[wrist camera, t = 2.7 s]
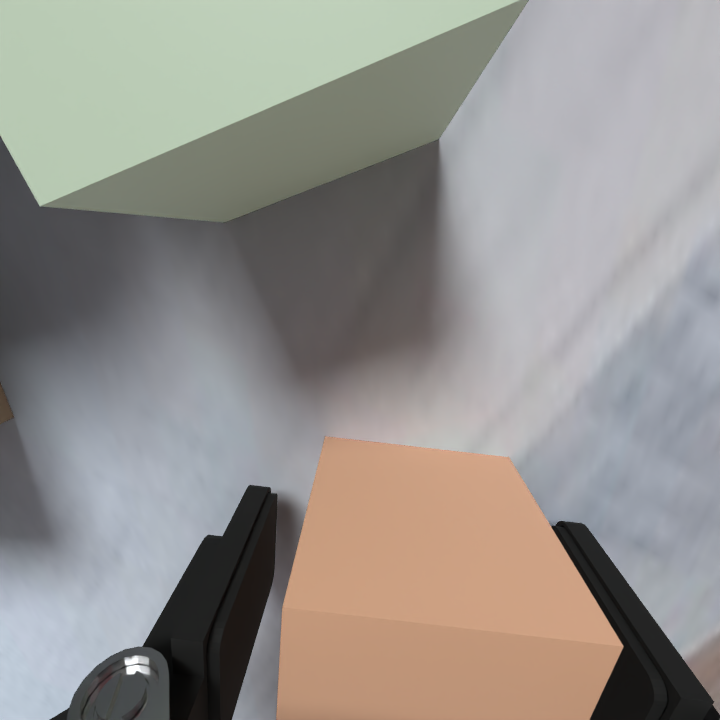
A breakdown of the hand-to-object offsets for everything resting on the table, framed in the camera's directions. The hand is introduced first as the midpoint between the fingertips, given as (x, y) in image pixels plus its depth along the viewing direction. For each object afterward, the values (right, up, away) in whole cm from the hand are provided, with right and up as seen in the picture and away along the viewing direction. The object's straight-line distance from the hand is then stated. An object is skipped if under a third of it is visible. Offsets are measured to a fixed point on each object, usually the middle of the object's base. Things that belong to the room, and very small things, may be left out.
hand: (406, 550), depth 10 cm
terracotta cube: (0, 0, +1) cm, 1 cm away
